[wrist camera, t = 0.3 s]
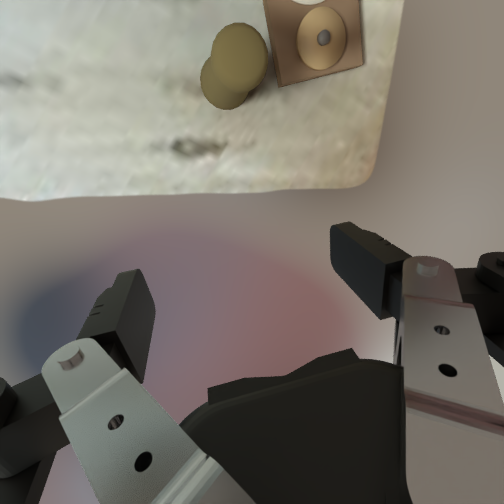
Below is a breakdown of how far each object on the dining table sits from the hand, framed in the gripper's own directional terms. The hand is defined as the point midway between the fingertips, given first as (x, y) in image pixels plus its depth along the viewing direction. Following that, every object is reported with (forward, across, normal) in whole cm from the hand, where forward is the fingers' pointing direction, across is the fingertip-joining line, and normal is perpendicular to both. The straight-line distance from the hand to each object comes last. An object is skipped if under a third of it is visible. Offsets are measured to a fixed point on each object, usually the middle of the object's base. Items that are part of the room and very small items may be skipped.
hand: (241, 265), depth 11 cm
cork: (+29, -4, -9) cm, 31 cm away
